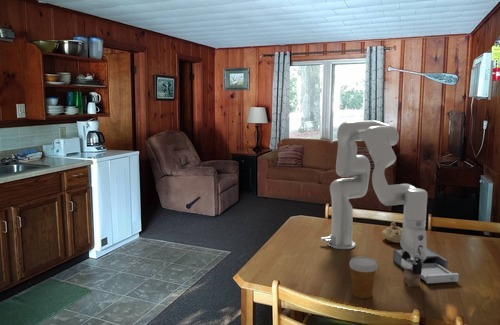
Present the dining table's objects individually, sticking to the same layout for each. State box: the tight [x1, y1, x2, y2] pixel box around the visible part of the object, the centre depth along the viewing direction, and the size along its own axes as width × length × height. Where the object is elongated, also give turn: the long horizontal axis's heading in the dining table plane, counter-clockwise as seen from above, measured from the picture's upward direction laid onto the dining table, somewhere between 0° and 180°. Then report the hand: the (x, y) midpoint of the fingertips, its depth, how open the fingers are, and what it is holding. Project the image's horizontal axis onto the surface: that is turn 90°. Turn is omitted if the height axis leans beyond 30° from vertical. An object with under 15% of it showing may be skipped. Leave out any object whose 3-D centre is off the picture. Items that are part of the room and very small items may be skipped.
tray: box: [420, 263, 460, 284], centre depth 152 cm, size 12×14×3 cm
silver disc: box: [401, 257, 418, 270], centre depth 145 cm, size 7×7×2 cm
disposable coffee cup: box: [348, 256, 378, 299], centre depth 138 cm, size 10×10×12 cm
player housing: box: [392, 247, 448, 270], centre depth 161 cm, size 15×14×5 cm
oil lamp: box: [381, 221, 403, 244], centre depth 191 cm, size 11×15×8 cm
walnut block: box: [403, 269, 421, 287], centre depth 146 cm, size 4×4×5 cm
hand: (411, 269), depth 146 cm, fingers closed on silver disc, 7 cm apart
